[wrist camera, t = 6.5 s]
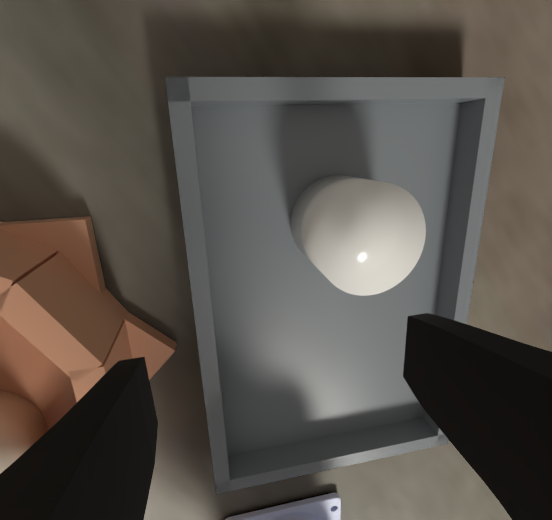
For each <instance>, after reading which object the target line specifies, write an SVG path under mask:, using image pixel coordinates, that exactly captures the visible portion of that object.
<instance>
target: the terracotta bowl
mask: <svg viewBox="0 0 552 520" xmlns="http://www.w3.org/2000/svg"><path fill="white" fill-rule="evenodd" d="M175 350H176V342H175V341H173V340H172V339H170V338H169V337H167V336H165V335H164V334H162V333H161V332H159V331H158V330H156V329H154V328H153V327H151V326H150V325H148V324H146V323H145V322H143V321H142V320H140V319H139V318H137V317H135V316H134V315H132V314H131V313H129V312H128V311H127V310H126V309H125V308H124V307H123V306H122V305H121V304H120V303H119V301H118V300H117V299H116V298H115V297H114V296H113V295H112V294H111V293H110V292H109V291H108V290H107V289H106V287H105V283H104V278H103V273H102V268H101V263H100V258H99V254H98V249H97V244H96V239H95V234H94V229H93V225H92V220H91V216H85V217H71V218H56V219H41V220H26V221H12V222H2V221H0V391H5V392H10V393H14V394H17V395H19V396H22V397H24V398H26V399H27V400H29V401H30V402H32V403H33V404H34V405H35V406H37V407H38V409H39V410H40V411H41V412H42V414H43V416H44V418H45V421H46V425H47V431H48V430H49V429H50V428H51V427H53V426H54V425H55V424H56V423H57V422H58V421H59V420H60V419H61V418H62V417H63V416H64V415H65V414H66V413H67V412H68V411H69V410H70V409H71V408H72V407H73V406H74V405H75V404H76V403H77V402H78V401H79V400H80V399H81V398H82V397H83V396H84V395H85V394H86V393H87V392H88V391H89V390H90V389H91V388H92V387H93V386H94V385H95V384H96V383H97V382H98V381H99V380H100V379H101V378H102V377H103V376H104V375H105V374H106V372H107V371H108V370H109V369H110V368H111V367H112V366H114V365H115V364H116V363H117V362H118V361H120V360H126V359H133V358H139V357H145V362H146V367H147V372H148V377H149V380H150V379H151V378H152V377H153V375H154V374H155V373H156V372H157V371H158V370H159V369H160V368H161V366H162V365H163V364H164V363H165V362H166V361H167V360H168V359H169V358H170V356H171V355H172V354H173V353H174V352H175Z"/></svg>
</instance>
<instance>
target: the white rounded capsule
mask: <svg viewBox="0 0 552 520" xmlns="http://www.w3.org/2000/svg"><path fill="white" fill-rule="evenodd" d="M291 233H292V237H293V240H294V242H295V244H296V246H297V247H298V249H299V250H300V251H301V252H302V253H303V255H304V256H305V257H306V258H307V259H308V260H309V261H310V262H311V263H312V264H313V265H314V266H315V267H316V268H317V269H318V270H319V271H320V272H321V273H322V274H323V275H324V276H325V277H326V278H327V279H328V280H329V281H330V282H331V283H332V284H333V285H334V286H336V287H337V288H338V289H340V290H342V291H344V292H346V293H349V294H353V295H360V296H368V295H375V294H379V293H382V292H385V291H387V290H389V289H391V288H393V287H394V286H396V285H397V284H399V283H400V282H401V281H402V280H403V279H405V278H406V277H407V276H408V274H409V273H410V272H411V271H412V270H413V268H414V267H415V265H416V264H417V262H418V260H419V258H420V256H421V253H422V251H423V247H424V243H425V237H426V225H425V219H424V215H423V212H422V209H421V207H420V205H419V203H418V202H417V201H416V199H415V198H414V197H413V196H412V195H411V194H410V193H409V192H408V191H406V190H405V189H404V188H402V187H400V186H398V185H395V184H392V183H386V182H380V181H374V180H368V179H362V178H356V177H350V176H344V175H330V176H326V177H323V178H320V179H318V180H316V181H315V182H313V183H312V184H310V185H309V186H308V187H307V188H306V189H305V190H304V191H303V192H302V193H301V194H300V196H299V197H298V199H297V201H296V203H295V205H294V207H293V211H292V215H291Z"/></svg>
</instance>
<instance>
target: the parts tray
mask: <svg viewBox="0 0 552 520" xmlns="http://www.w3.org/2000/svg"><path fill="white" fill-rule="evenodd" d="M504 79H505V77H165V83H166V91H167V99H168V107H169V115H170V123H171V131H172V140H173V148H174V156H175V164H176V172H177V180H178V188H179V196H180V205H181V213H182V221H183V229H184V237H185V245H186V253H187V261H188V270H189V278H190V286H191V294H192V302H193V310H194V318H195V326H196V335H197V343H198V351H199V359H200V367H201V375H202V383H203V391H204V400H205V408H206V416H207V424H208V432H209V440H210V448H211V456H212V465H213V473H214V481H215V489H216V495H217V494H221V493H226V492H230V491H235V490H239V489H244V488H248V487H253V486H257V485H262V484H267V483H271V482H276V481H280V480H285V479H289V478H294V477H298V476H303V475H307V474H312V473H316V472H321V471H326V470H330V469H335V468H339V467H344V466H348V465H353V464H357V463H362V462H366V461H371V460H376V459H380V458H385V457H389V456H394V455H398V454H403V453H407V452H412V451H416V450H421V449H425V448H430V447H435V446H439V445H444V444H448V441H449V439H448V438H447V437H446V436H445V434H444V433H443V432H442V431H441V430H440V428H439V427H438V426H437V425H436V424H435V422H434V421H433V420H432V419H431V417H430V416H429V415H428V414H427V412H426V411H425V410H424V409H423V407H422V406H421V404H420V403H419V401H418V400H417V398H416V397H415V395H414V394H413V392H412V391H411V389H410V387H409V386H408V384H407V382H406V381H405V379H404V377H403V369H404V357H405V344H406V332H407V319H408V316H411V315H418V314H424V313H429V314H434V315H438V316H441V317H445V318H448V319H451V320H455V321H458V322H461V323H464V324H467V318H468V312H469V305H470V299H471V292H472V286H473V279H474V273H475V266H476V260H477V253H478V247H479V240H480V234H481V227H482V221H483V214H484V208H485V201H486V195H487V189H488V182H489V176H490V169H491V163H492V156H493V150H494V143H495V137H496V130H497V124H498V117H499V111H500V104H501V98H502V91H503V85H504ZM330 175H344V176H350V177H356V178H362V179H368V180H374V181H380V182H386V183H392V184H395V185H398V186H400V187H402V188H404V189H405V190H406V191H408V192H409V193H410V194H411V195H412V196H413V197H414V198H415V199H416V201H417V202H418V203H419V205H420V207H421V209H422V212H423V215H424V219H425V225H426V237H425V243H424V247H423V251H422V253H421V256H420V258H419V260H418V262H417V264H416V265H415V267H414V268H413V270H412V271H411V272H410V273H409V274H408V276H407V277H406V278H405V279H403V280H402V281H401V282H400V283H399V284H397V285H396V286H394V287H393V288H391V289H389V290H387V291H385V292H382V293H379V294H375V295H368V296H360V295H353V294H349V293H346V292H344V291H342V290H340V289H338V288H337V287H336V286H334V285H333V284H332V283H331V282H330V281H329V280H328V279H327V278H326V277H325V276H324V275H323V274H322V273H321V272H320V271H319V270H318V269H317V268H316V267H315V266H314V265H313V264H312V263H311V262H310V261H309V260H308V259H307V258H306V257H305V256H304V255H303V253H302V252H301V251H300V250H299V249H298V247H297V246H296V244H295V242H294V240H293V237H292V233H291V215H292V211H293V207H294V205H295V203H296V201H297V199H298V197H299V196H300V194H301V193H302V192H303V191H304V190H305V189H306V188H307V187H308V186H309V185H310V184H312V183H313V182H315V181H316V180H318V179H320V178H323V177H326V176H330Z"/></svg>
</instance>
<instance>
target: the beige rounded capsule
mask: <svg viewBox="0 0 552 520" xmlns="http://www.w3.org/2000/svg"><path fill="white" fill-rule="evenodd" d="M46 432H47V425H46V421H45V418H44V416H43V414H42V412H41V411H40V410H39V409H38V407H37V406H35V405H34V404H33V403H32V402H30V401H29V400H27V399H26V398H24V397H22V396H19V395H17V394H14V393H10V392H5V391H0V474H1V473H2V472H3V471H4V470H5V469H6V468H8V467H9V466H10V465H11V464H12V463H13V462H15V461H16V460H17V459H18V458H19V457H20V456H21V455H22V454H23V453H24V452H25V451H27V450H28V449H29V448H30V447H31V446H32V445H33V444H34V443H35V442H36V441H37V440H38V439H40V438H41V437H42V436H43V435H44V434H45V433H46Z"/></svg>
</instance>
